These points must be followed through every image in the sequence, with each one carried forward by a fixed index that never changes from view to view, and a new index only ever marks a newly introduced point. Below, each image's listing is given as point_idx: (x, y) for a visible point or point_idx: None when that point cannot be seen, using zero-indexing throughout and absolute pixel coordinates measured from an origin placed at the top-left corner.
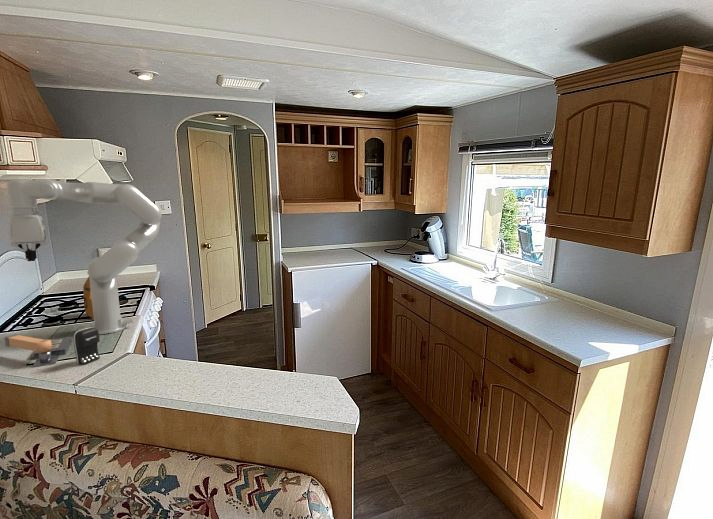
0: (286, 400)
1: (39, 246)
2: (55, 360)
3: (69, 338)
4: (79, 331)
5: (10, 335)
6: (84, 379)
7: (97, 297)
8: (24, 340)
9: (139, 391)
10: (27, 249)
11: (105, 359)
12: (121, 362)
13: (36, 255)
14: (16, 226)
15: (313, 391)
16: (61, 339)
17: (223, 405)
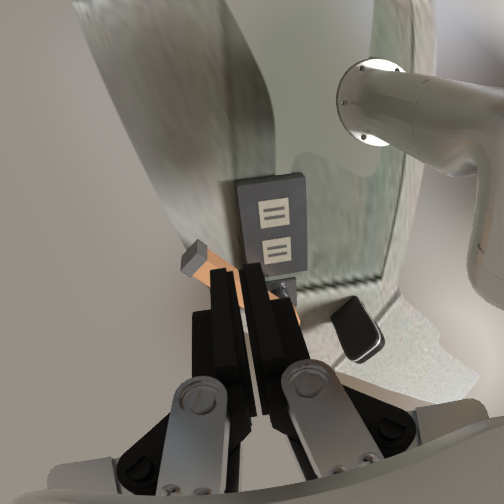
0: (449, 394)
1: (380, 408)
2: (295, 300)
3: (303, 192)
4: (359, 360)
5: (189, 262)
6: (341, 359)
7: (428, 165)
8: (243, 306)
9: (384, 384)
10: (241, 437)
11: (368, 306)
12: (385, 322)
13: (295, 316)
14: None
15: (465, 385)
16: (286, 198)
17: (421, 399)
